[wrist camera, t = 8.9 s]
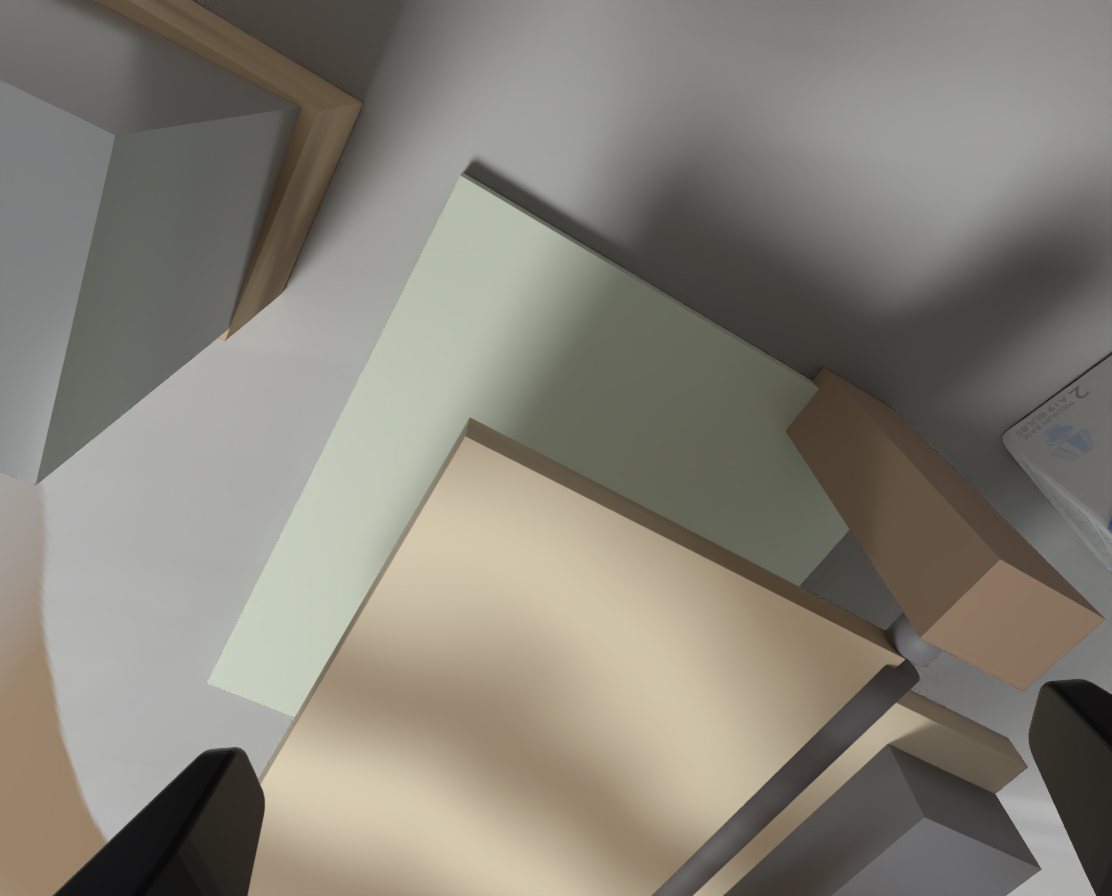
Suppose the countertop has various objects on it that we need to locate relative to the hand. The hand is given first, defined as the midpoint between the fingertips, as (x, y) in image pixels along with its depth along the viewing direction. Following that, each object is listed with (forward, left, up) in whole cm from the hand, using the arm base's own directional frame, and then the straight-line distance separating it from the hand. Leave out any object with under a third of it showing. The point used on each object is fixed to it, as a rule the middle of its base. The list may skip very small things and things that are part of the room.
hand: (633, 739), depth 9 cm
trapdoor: (-7, -5, -7) cm, 11 cm away
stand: (-7, -3, -14) cm, 16 cm away
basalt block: (0, +10, -10) cm, 14 cm away
